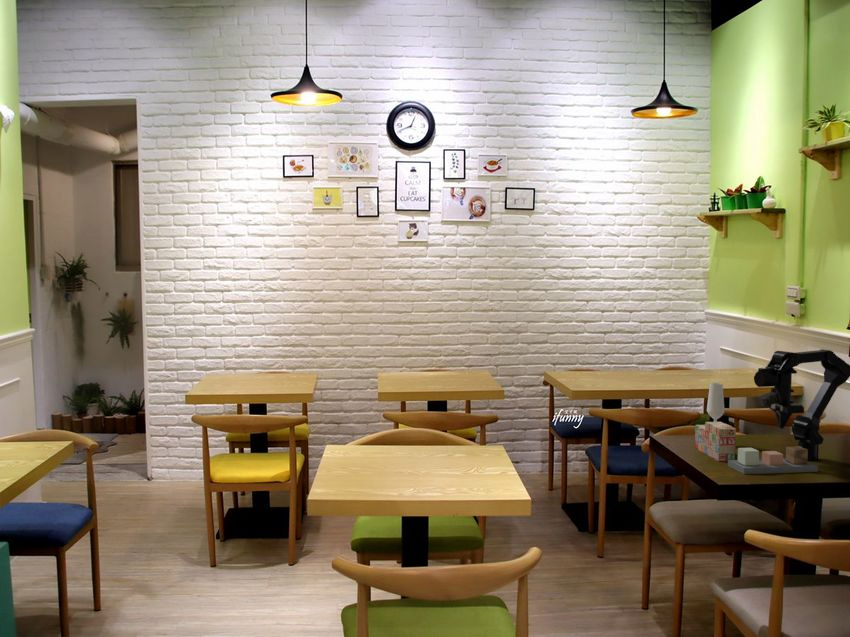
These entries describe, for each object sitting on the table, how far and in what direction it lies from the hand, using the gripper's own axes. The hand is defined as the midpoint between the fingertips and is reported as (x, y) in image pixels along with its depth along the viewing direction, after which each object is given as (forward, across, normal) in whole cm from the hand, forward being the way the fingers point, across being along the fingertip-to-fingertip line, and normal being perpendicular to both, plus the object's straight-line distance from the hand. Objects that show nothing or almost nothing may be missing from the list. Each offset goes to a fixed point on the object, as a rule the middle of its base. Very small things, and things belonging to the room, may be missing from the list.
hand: (781, 428), depth 285 cm
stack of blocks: (+12, -12, -19) cm, 26 cm away
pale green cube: (+10, +10, -18) cm, 23 cm away
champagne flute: (+12, -30, -10) cm, 34 cm away
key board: (+12, +10, -9) cm, 18 cm away
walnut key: (+10, +10, 0) cm, 14 cm away
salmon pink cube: (+11, +10, -9) cm, 18 cm away
